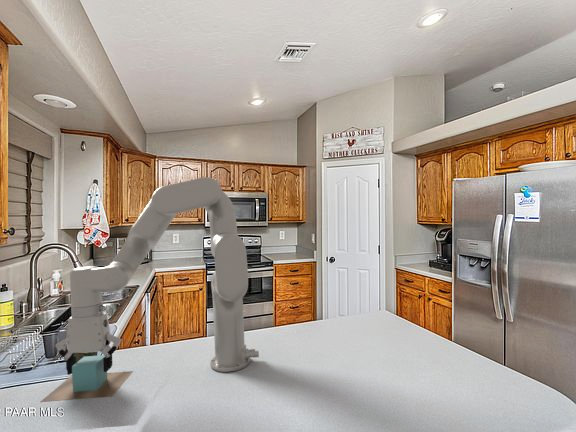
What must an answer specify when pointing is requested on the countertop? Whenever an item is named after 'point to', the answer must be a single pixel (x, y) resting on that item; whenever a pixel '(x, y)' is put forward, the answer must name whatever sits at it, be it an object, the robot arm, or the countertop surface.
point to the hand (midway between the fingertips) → (89, 371)
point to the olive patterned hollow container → (81, 355)
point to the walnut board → (104, 390)
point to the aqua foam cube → (88, 373)
